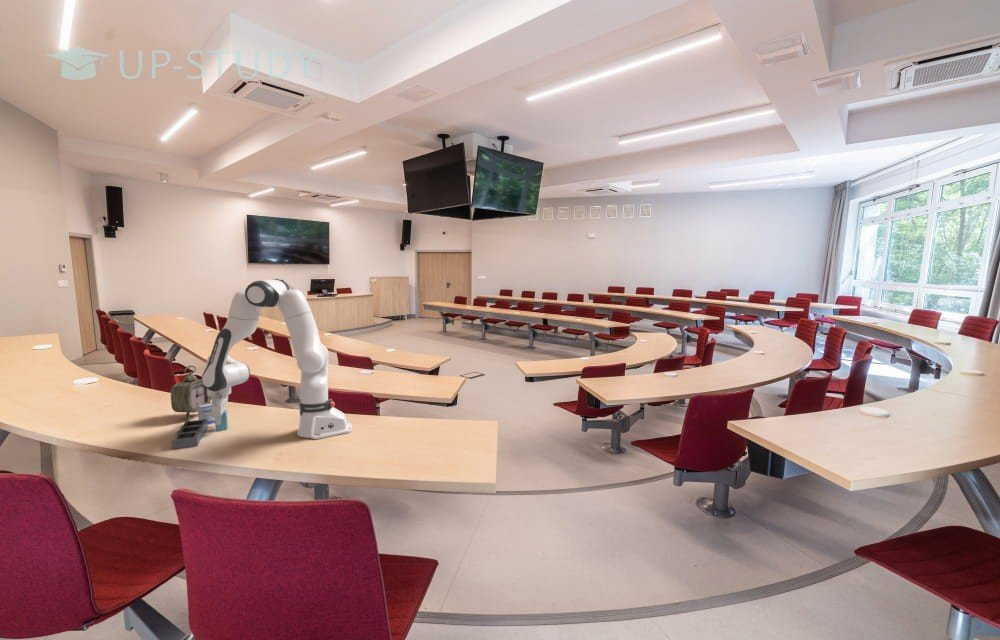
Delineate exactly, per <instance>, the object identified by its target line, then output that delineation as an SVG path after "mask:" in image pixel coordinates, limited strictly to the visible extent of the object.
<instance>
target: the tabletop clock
mask: <svg viewBox="0 0 1000 640" xmlns="http://www.w3.org/2000/svg"><path fill="white" fill-rule="evenodd" d="M189 368H193V369H194V370H193V371H188V373H187V372H186V371H187V370H188V369H189ZM196 368H197V367H196V366H194V365H188V366H186V367H185V368H184V369H183V373H184V374H185V375H186V376H185V377H184V378H183V380H181V381H179V382H177V383H176V384H173V385H172V386H171V389H170V402H171V408H172V411H174V412H175V413H186V414H185V417H186V421H192V420H191V419H192V417H190V415H191V414H190V413H192V414H193V413H198V406H200V405H205V404H210V403H211V402H212V399H211V396H207V388H206V387H205V386H204V385H203V384H202V378H201V379H199V378H197V376H196V375H194V374H195V372H196V371H197V369H196Z"/></svg>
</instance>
